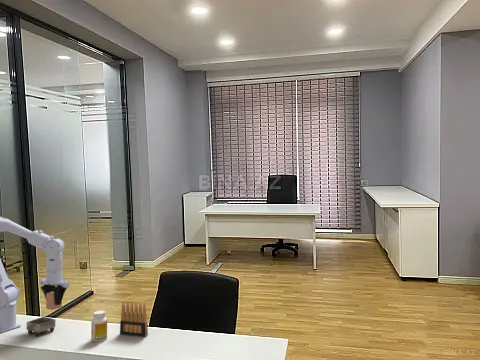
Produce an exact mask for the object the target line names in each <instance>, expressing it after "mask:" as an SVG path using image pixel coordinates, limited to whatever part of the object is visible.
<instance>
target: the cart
mask: <svg viewBox="0 0 480 360" xmlns="http://www.w3.org/2000/svg"><path fill="white" fill-rule="evenodd" d="M55 328H56V319H55V318H51V317H47V316H42V317H39V318H36V319H32V320H29V321H27V322H26V330H27V334H28V335H31V334H32V333H35V337H39V336H41V333H42V332H45V331H47V330H50V331H51V332H53V331H55Z"/></svg>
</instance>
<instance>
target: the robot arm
mask: <svg viewBox="0 0 480 360" xmlns="http://www.w3.org/2000/svg"><path fill="white" fill-rule="evenodd" d="M4 232H9V233H11V234H14V235H17V236H18V237H22V238H24V239H26V241H27V243H28V244H30V245H31V246H34V247H36V248H39V249H41V250H43V251H44V253H46V278H41V279H39V285H40V290H41V291H42V292H43V295H44V298H45V299H46V293H50V292H54V296H55V305H59V304H61V302H62V303H63V297H64V295H65V293H66V291H67V289H68V288H69V287H70V281H69V280H68V281H67V280H65V279H63V251H64V249H65V248H66V247H65V246H66V245H65V242H64V240H62V239H61V238H59V237H56V238H54V237H55V236H53V235H48V234H46V233H44V230H41V229H40V230H33V231H32V230H30V229H28V228H26V227H24V226H22V225H20V224H18V223H16V222H14V221H12V220H10V219H9V218H5V217H3V216H2V215H1V216H0V234H2V233H4ZM20 293H21V291H20V289H19V287H17V286H16V285H15V283H14V281H13V280H12V279H10V278H9V276H8V274H7V272H6V269H5V267H4V264H3V262H2V259H1V258H0V333H4V332H7V331H11V330H13V329H16V328H20V327H22V325H21V324H20V323H17V299H18V298H19V297H20Z"/></svg>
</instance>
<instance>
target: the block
mask: <svg viewBox="0 0 480 360" xmlns="http://www.w3.org/2000/svg"><path fill="white" fill-rule="evenodd" d="M45 301H46V302H45V306H46V307H45V308H46V310H47V309H48V310H50V311H55V310H56V309H60V308H62V307H63V305H62V304H63V301H62V302H61V304H59V305H55V296H54V292H50V293H46V298H45Z"/></svg>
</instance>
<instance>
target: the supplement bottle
mask: <svg viewBox="0 0 480 360" xmlns="http://www.w3.org/2000/svg"><path fill="white" fill-rule="evenodd" d="M90 332H91V333H90V334H91V336H90V337H91V341H92V342H95V343H97V342H99V343H100V342H103V341H106V340H107V339H108V318H107V317H106V310H97V311H94V312H93V318H92V319H91V331H90Z"/></svg>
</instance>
